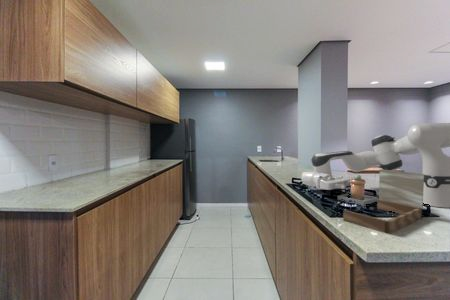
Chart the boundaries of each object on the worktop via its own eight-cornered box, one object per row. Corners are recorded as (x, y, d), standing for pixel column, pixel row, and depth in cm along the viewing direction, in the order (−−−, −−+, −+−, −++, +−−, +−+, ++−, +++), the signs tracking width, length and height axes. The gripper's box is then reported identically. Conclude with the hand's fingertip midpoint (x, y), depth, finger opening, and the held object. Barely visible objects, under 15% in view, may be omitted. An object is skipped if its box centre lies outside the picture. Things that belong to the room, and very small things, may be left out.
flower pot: (354, 197, 132) (354, 173, 131) (367, 199, 126) (368, 174, 126) (346, 199, 128) (347, 174, 127) (360, 202, 123) (361, 176, 122)
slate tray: (351, 197, 136) (351, 192, 136) (377, 202, 126) (377, 197, 125) (337, 200, 129) (337, 195, 129) (363, 206, 118) (363, 201, 118)
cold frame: (379, 208, 116) (380, 169, 114) (422, 217, 102) (424, 173, 101) (343, 220, 100) (344, 175, 99) (388, 233, 86) (390, 181, 85)
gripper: (337, 184, 148) (360, 189, 136) (314, 189, 137) (338, 194, 125) (337, 174, 148) (360, 177, 136) (314, 178, 136) (338, 182, 125)
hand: (349, 185), depth 130 cm, fingers open, 8 cm apart
